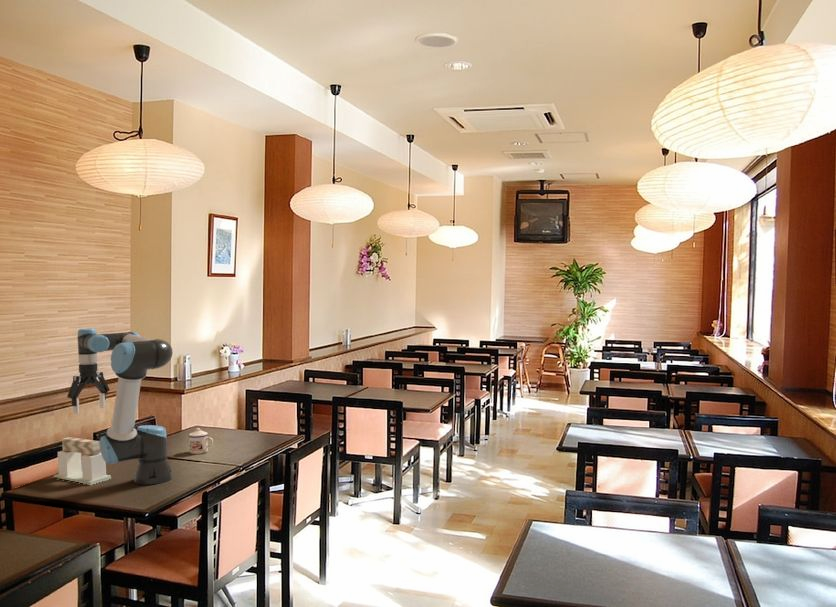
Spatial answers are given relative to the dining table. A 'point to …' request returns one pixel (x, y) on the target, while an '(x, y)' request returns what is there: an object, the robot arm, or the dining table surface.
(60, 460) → the twin white pillars base
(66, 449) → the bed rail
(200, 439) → the teacup with lid
